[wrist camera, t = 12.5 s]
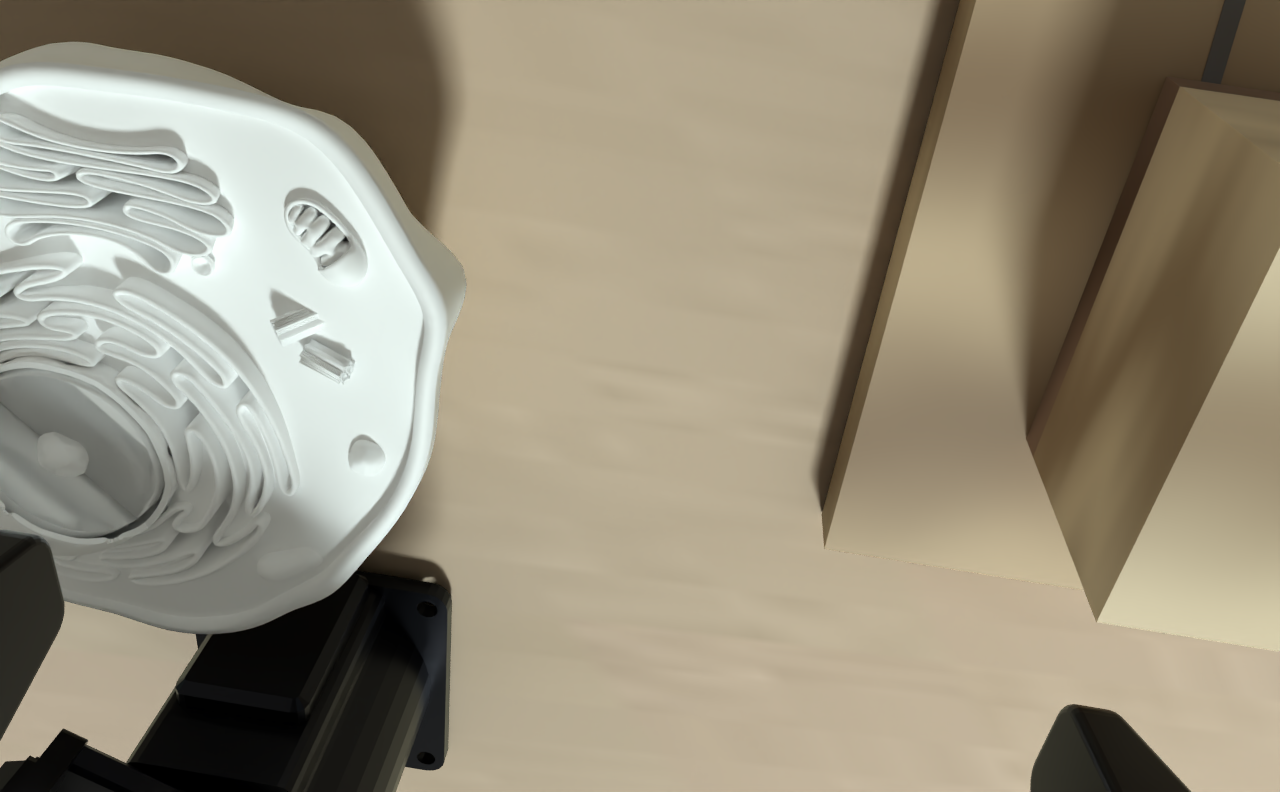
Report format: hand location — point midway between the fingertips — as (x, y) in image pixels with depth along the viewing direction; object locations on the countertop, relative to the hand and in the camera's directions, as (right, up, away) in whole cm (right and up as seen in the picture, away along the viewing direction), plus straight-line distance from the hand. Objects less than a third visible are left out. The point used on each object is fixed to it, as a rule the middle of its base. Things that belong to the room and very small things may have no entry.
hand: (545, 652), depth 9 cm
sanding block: (+11, +4, +9) cm, 15 cm away
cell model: (-7, +5, +12) cm, 15 cm away
